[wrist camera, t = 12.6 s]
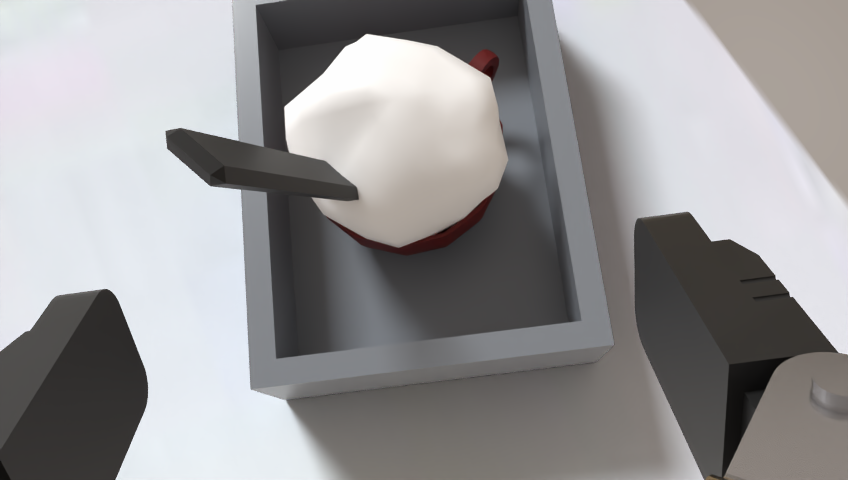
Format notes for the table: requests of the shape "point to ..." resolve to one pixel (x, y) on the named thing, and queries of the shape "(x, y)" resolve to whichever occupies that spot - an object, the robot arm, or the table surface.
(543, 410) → the table surface
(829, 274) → the table surface
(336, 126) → the cocoa
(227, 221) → the table surface
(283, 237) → the dock tray
